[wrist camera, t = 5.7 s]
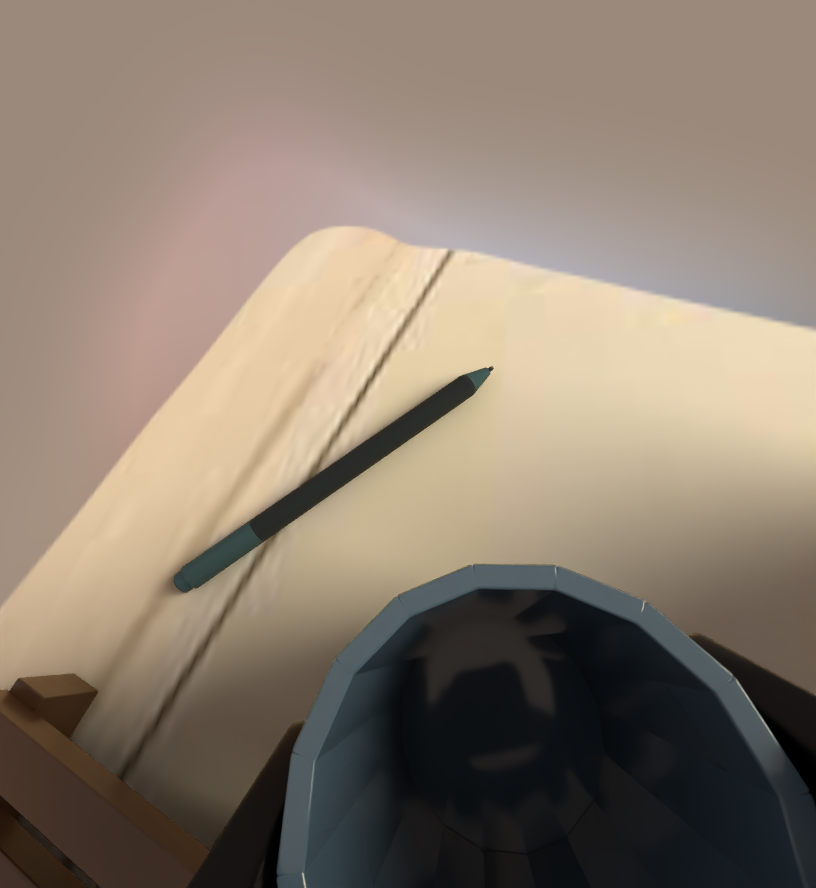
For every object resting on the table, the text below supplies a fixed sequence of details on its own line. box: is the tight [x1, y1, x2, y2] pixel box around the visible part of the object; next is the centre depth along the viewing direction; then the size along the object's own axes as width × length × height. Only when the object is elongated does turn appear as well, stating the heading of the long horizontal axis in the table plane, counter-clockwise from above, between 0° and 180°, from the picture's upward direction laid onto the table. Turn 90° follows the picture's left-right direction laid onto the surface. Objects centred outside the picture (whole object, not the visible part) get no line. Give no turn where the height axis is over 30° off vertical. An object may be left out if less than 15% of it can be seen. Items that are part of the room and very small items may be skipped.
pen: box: [174, 366, 494, 592], centre depth 17 cm, size 1×16×1 cm, turn 125°
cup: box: [276, 564, 816, 888], centre depth 9 cm, size 7×7×9 cm
